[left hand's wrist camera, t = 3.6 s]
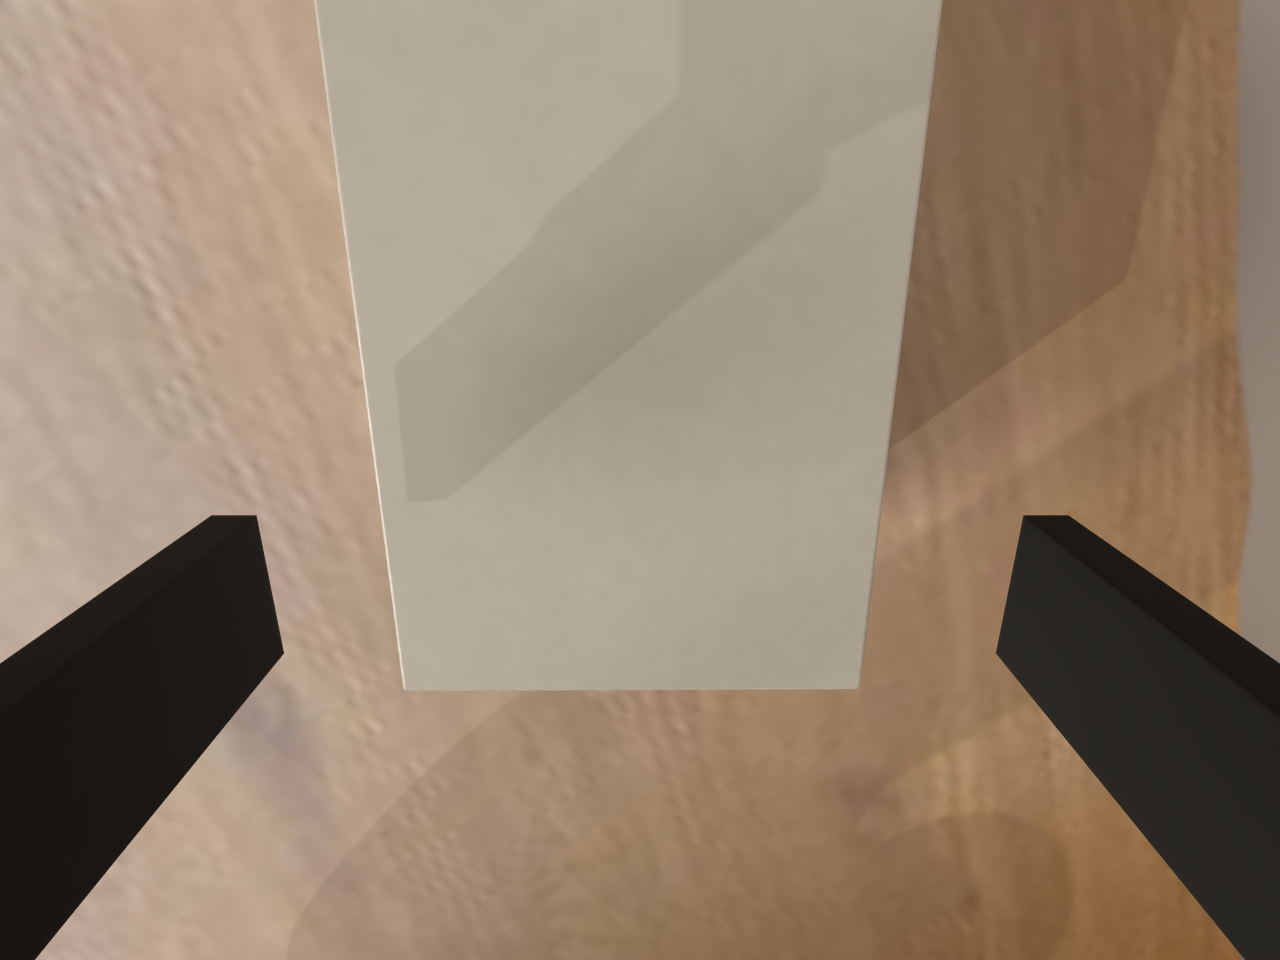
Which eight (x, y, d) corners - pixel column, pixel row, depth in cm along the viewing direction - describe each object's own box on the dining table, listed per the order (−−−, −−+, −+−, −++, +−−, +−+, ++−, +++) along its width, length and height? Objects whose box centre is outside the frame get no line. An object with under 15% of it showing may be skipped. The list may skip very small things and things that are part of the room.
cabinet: (438, -44, 19) (277, -265, 10) (823, -44, 19) (976, -263, 11) (483, 529, 25) (402, 692, 16) (782, 528, 25) (861, 690, 16)
